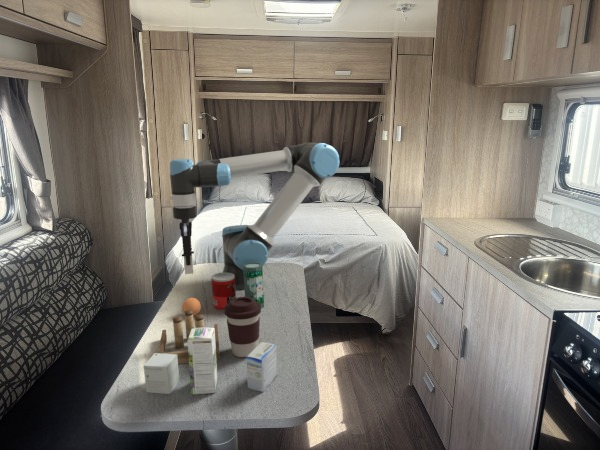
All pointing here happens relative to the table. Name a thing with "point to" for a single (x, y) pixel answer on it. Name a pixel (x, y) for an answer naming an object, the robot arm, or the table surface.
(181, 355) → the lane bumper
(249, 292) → the can
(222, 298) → the canned food
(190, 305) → the ball
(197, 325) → the rear pin
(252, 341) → the coffee cup
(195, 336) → the syrup box
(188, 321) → the front pin
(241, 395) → the table surface
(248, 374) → the medicine box
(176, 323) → the rear pin
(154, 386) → the product box
